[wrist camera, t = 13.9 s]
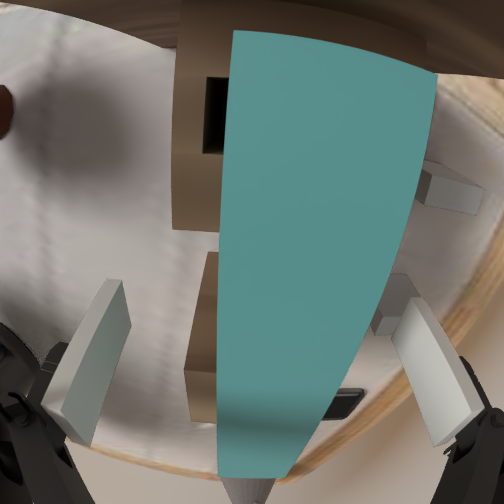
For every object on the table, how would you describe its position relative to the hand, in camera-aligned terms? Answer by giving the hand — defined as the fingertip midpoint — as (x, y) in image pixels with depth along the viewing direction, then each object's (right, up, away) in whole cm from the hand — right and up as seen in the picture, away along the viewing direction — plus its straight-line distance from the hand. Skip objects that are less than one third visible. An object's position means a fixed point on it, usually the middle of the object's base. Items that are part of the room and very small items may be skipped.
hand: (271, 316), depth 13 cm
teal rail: (0, +2, +4) cm, 5 cm away
